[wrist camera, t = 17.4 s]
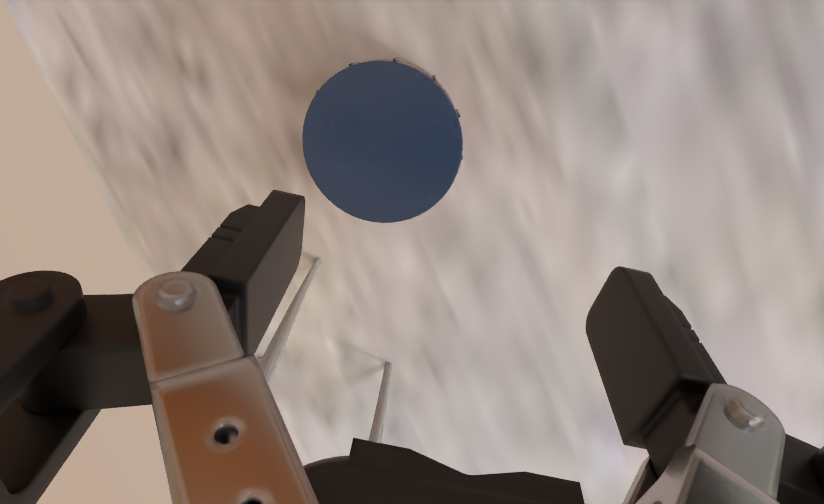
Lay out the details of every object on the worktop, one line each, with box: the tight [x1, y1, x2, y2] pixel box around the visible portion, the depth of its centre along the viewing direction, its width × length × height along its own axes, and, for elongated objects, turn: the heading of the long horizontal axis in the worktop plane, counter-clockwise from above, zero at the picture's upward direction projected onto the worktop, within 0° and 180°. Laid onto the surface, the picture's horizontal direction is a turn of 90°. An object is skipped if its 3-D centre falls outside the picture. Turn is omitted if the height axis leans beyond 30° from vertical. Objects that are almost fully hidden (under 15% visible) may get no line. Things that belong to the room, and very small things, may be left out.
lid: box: [303, 58, 463, 223], centre depth 18 cm, size 6×6×2 cm
